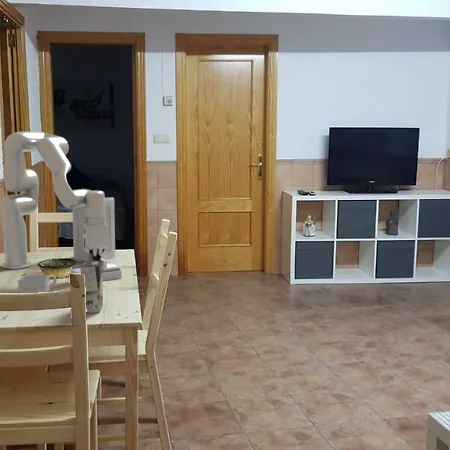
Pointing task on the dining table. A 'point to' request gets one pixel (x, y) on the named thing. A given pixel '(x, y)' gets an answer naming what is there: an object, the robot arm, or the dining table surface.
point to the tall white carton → (79, 231)
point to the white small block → (107, 265)
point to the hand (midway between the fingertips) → (96, 264)
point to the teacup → (35, 283)
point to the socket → (106, 274)
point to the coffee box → (93, 285)
